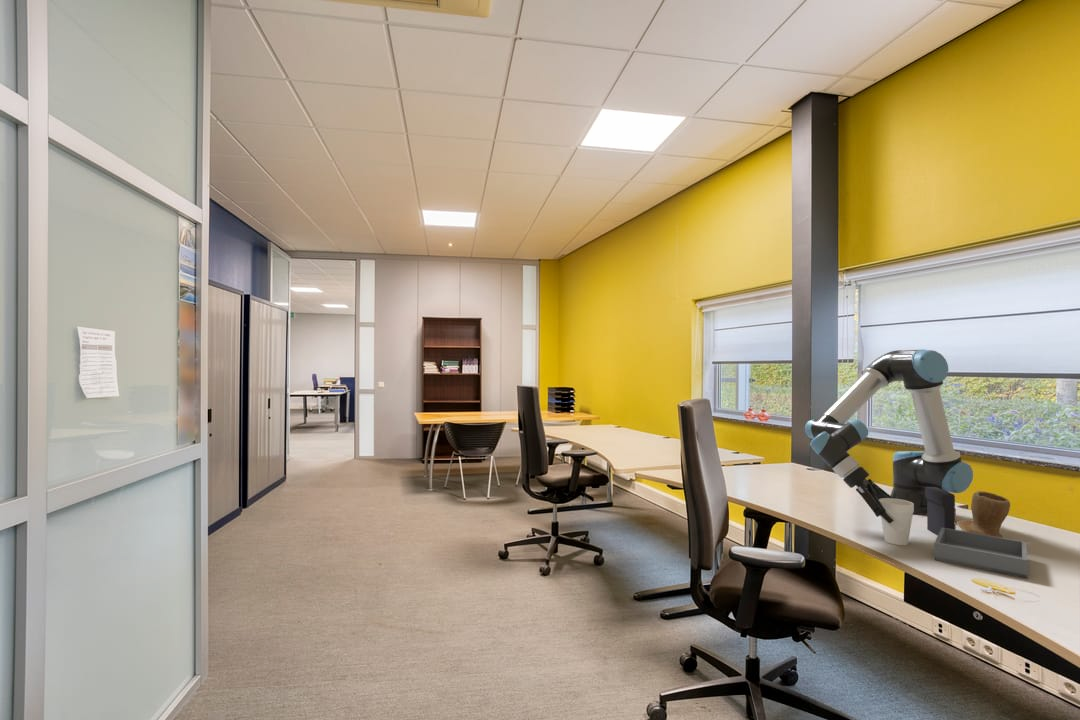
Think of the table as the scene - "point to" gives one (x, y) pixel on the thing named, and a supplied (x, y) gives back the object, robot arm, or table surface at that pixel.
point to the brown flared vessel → (986, 514)
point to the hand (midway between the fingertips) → (904, 525)
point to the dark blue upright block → (940, 509)
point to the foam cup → (903, 514)
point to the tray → (982, 552)
